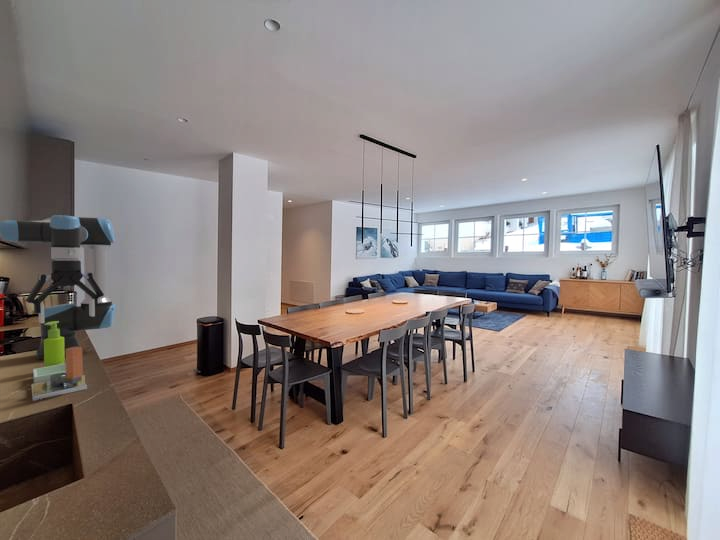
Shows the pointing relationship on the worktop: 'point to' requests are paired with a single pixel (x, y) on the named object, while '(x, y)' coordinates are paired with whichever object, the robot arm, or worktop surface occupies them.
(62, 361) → the soap dispenser
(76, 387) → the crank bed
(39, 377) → the tray
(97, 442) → the worktop surface
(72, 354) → the crank
